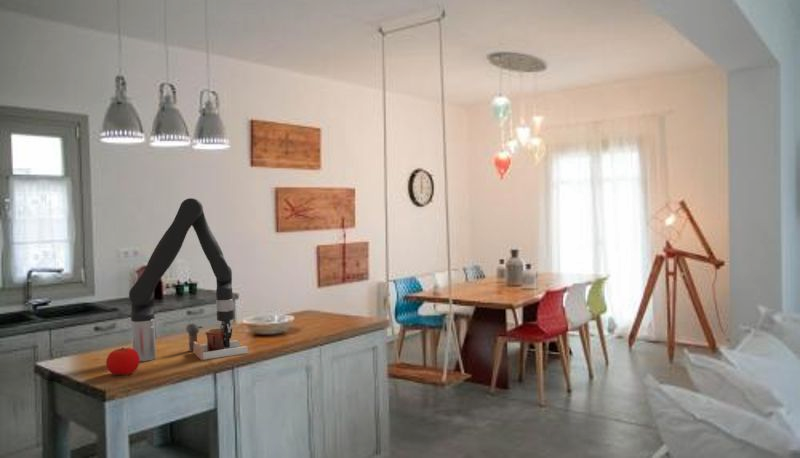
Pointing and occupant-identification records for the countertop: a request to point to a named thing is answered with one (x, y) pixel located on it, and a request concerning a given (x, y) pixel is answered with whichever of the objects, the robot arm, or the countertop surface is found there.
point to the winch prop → (192, 334)
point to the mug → (215, 339)
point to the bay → (203, 355)
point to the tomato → (122, 361)
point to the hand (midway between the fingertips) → (227, 347)
